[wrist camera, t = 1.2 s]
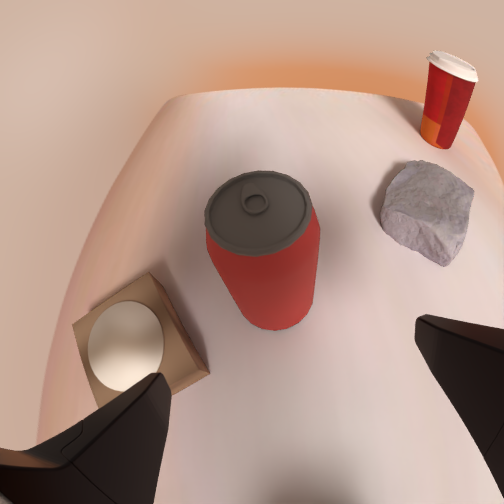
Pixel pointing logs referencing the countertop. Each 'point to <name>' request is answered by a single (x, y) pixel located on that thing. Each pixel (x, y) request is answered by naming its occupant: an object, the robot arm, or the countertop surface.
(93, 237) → the countertop surface
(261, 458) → the countertop surface
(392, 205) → the stone block
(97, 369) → the walnut pedestal
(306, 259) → the beer can
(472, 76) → the paper cup
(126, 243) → the countertop surface
